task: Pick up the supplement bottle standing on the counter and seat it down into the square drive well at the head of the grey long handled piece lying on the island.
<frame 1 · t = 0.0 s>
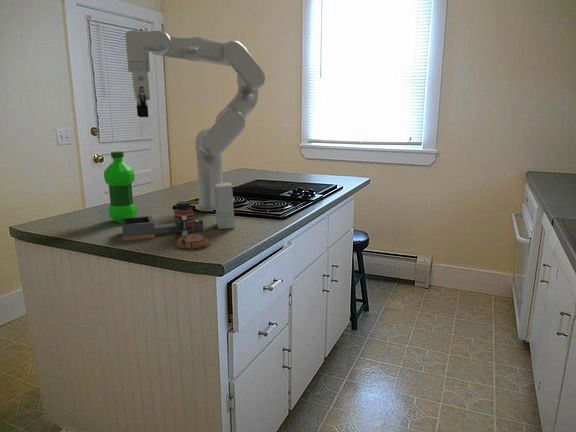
hand: (142, 116, 169), 37 cm above the table, tool pointing down, fingers open, 9 cm apart
supplement bottle: (185, 237, 149), on the table
skincare box: (225, 226, 161), on the table
grey long handled piece: (138, 235, 150), on the table
cookie: (193, 246, 140), on the table
plastic bottle: (123, 221, 168), on the table
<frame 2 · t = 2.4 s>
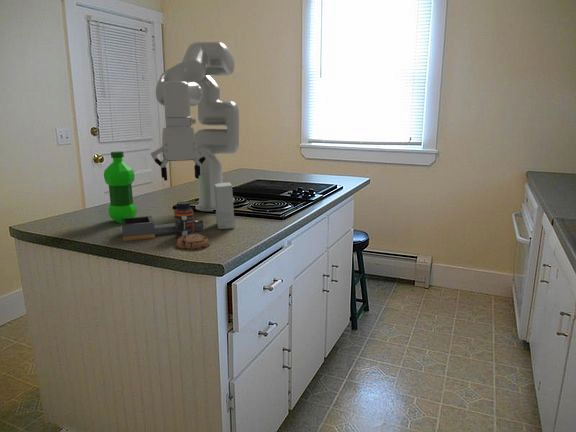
hand: (181, 179, 144), 19 cm above the table, tool pointing down, fingers open, 9 cm apart
nothing on the table moved.
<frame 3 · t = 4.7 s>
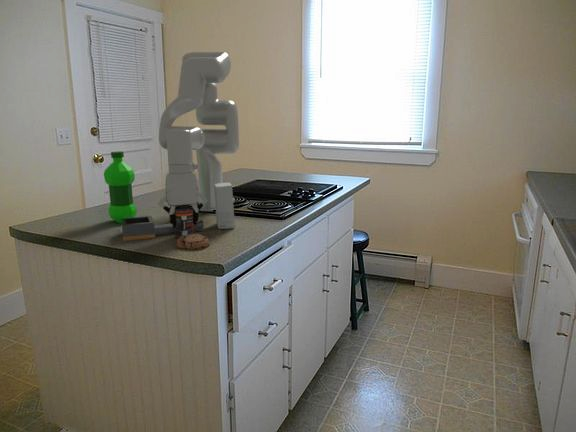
hand: (184, 224, 148), 4 cm above the table, tool pointing down, fingers closed on supplement bottle, 6 cm apart
supplement bottle: (185, 237, 149), on the table, touching gripper
everything else where it was.
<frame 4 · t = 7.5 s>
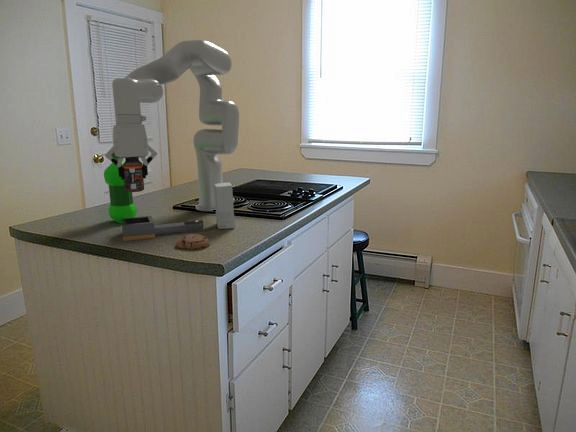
hand: (133, 178, 145), 19 cm above the table, tool pointing down, fingers closed on supplement bottle, 6 cm apart
supplement bottle: (134, 191, 146), point 15 cm above the table, touching gripper
everything else where it was.
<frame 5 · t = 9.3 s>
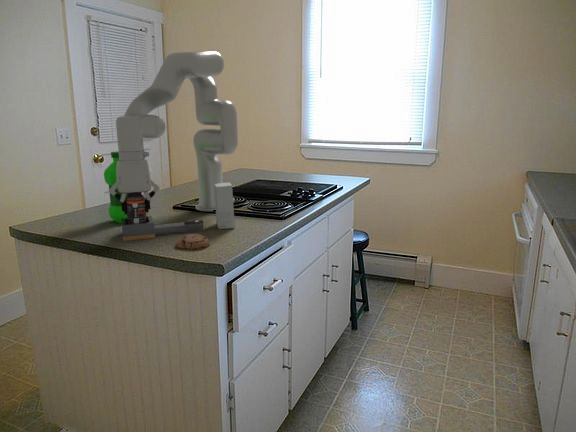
hand: (136, 212, 148), 8 cm above the table, tool pointing down, fingers closed on supplement bottle, 6 cm apart
supplement bottle: (137, 224, 149), point 3 cm above the table, touching gripper
everything else where it was.
when the fingers open (7 cm above the table, at t = 10.5 s): supplement bottle drops 1 cm, resting on grey long handled piece.
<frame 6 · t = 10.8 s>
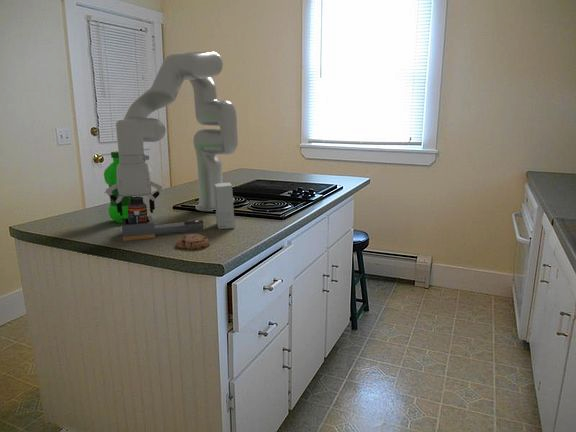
hand: (136, 213, 148), 7 cm above the table, tool pointing down, fingers open, 9 cm apart
supplement bottle: (139, 232, 150), point 1 cm above the table, touching grey long handled piece
everything else where it was.
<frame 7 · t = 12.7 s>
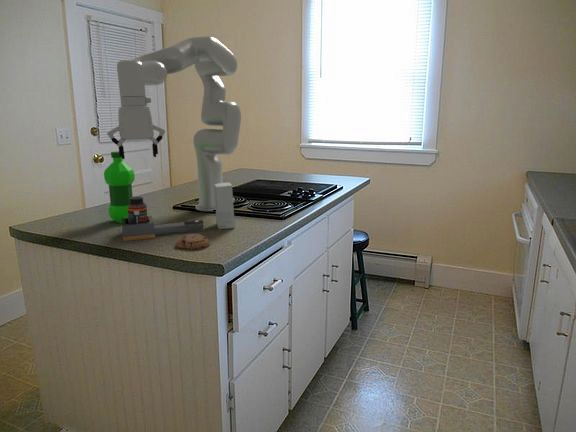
hand: (139, 157, 147), 25 cm above the table, tool pointing down, fingers open, 9 cm apart
nothing on the table moved.
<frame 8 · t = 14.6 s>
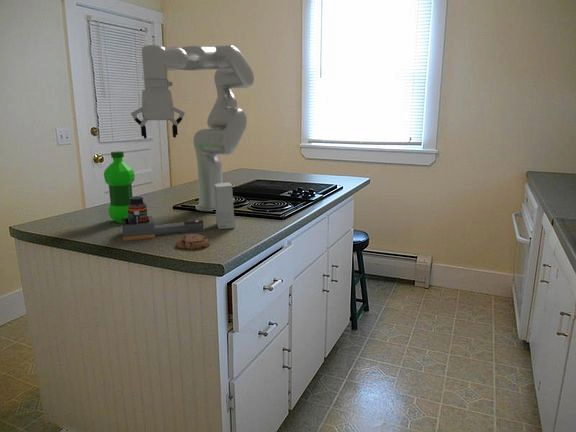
hand: (159, 137, 156), 30 cm above the table, tool pointing down, fingers open, 9 cm apart
nothing on the table moved.
at the end: supplement bottle 0.3 cm off-centre on the grey long handled piece, point 1.0 cm above the grey long handled piece's base; supplement bottle tilted 0°; the gripper is holding nothing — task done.
